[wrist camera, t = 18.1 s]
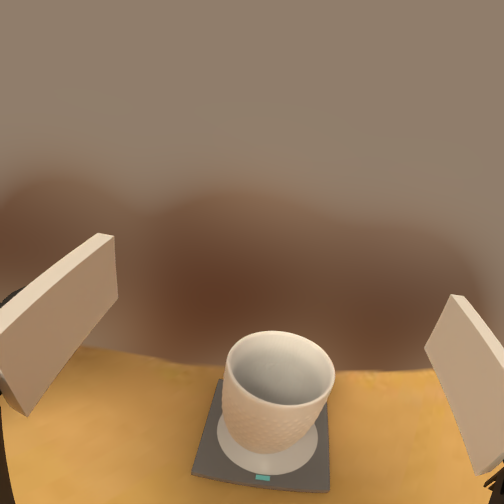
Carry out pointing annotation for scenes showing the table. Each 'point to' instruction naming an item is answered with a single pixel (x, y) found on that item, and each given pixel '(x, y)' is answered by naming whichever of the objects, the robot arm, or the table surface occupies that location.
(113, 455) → the table surface
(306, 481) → the kitchen scale
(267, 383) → the mug
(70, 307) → the robot arm
